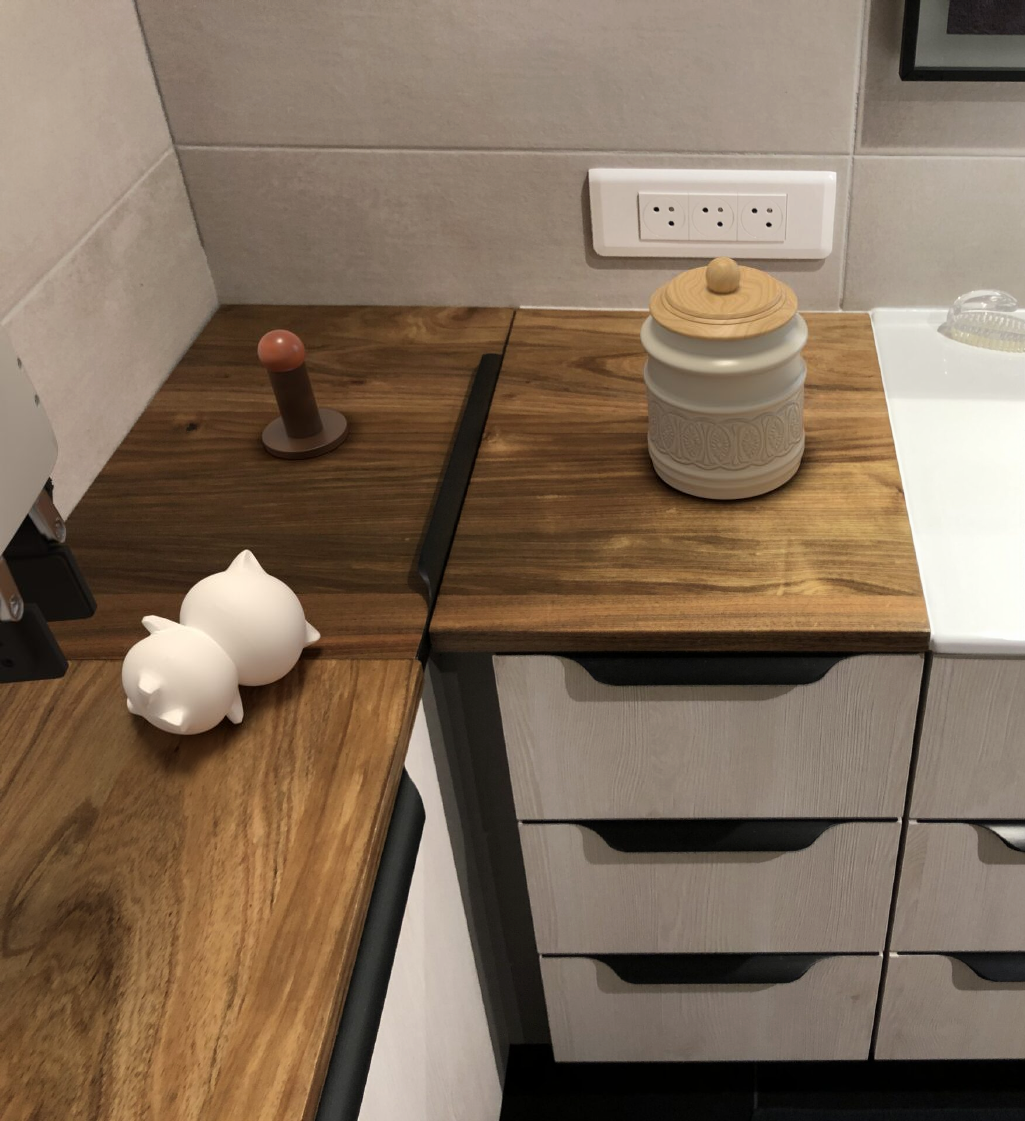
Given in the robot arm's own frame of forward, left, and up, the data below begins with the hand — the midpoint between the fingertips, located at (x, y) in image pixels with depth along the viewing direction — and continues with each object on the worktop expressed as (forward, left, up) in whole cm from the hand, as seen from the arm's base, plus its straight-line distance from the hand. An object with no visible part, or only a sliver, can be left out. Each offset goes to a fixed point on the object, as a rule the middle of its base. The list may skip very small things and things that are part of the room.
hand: (46, 643), depth 52 cm
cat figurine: (+7, +12, -17) cm, 22 cm away
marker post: (+24, +38, -17) cm, 48 cm away
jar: (+49, +12, -17) cm, 54 cm away
